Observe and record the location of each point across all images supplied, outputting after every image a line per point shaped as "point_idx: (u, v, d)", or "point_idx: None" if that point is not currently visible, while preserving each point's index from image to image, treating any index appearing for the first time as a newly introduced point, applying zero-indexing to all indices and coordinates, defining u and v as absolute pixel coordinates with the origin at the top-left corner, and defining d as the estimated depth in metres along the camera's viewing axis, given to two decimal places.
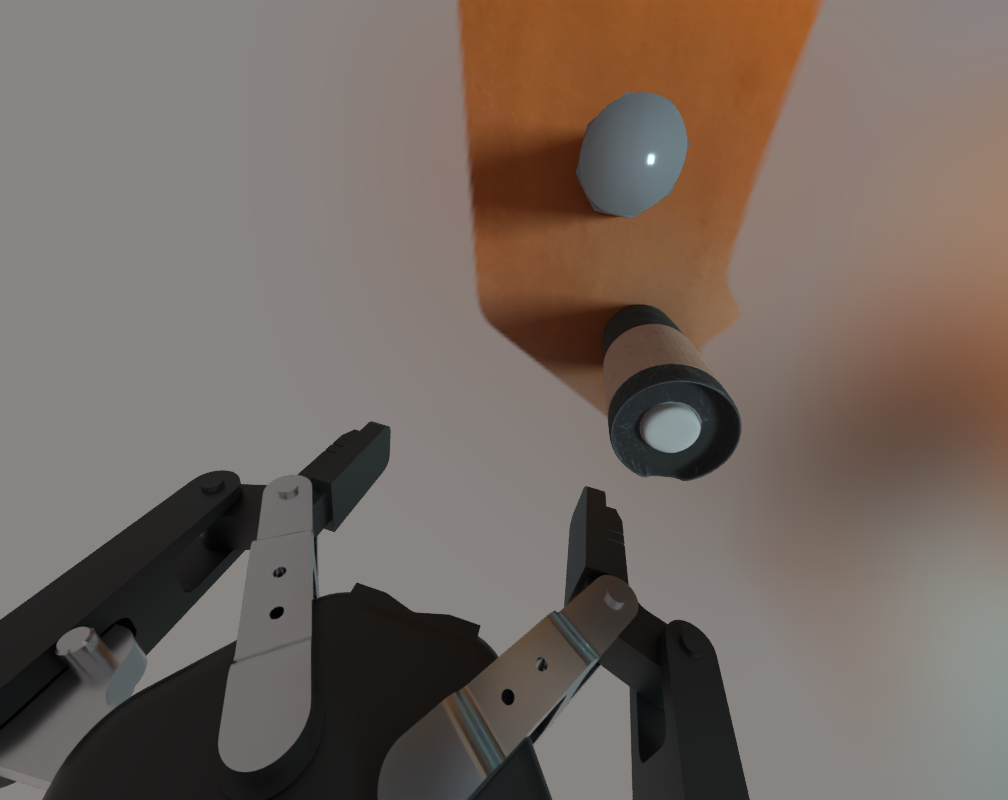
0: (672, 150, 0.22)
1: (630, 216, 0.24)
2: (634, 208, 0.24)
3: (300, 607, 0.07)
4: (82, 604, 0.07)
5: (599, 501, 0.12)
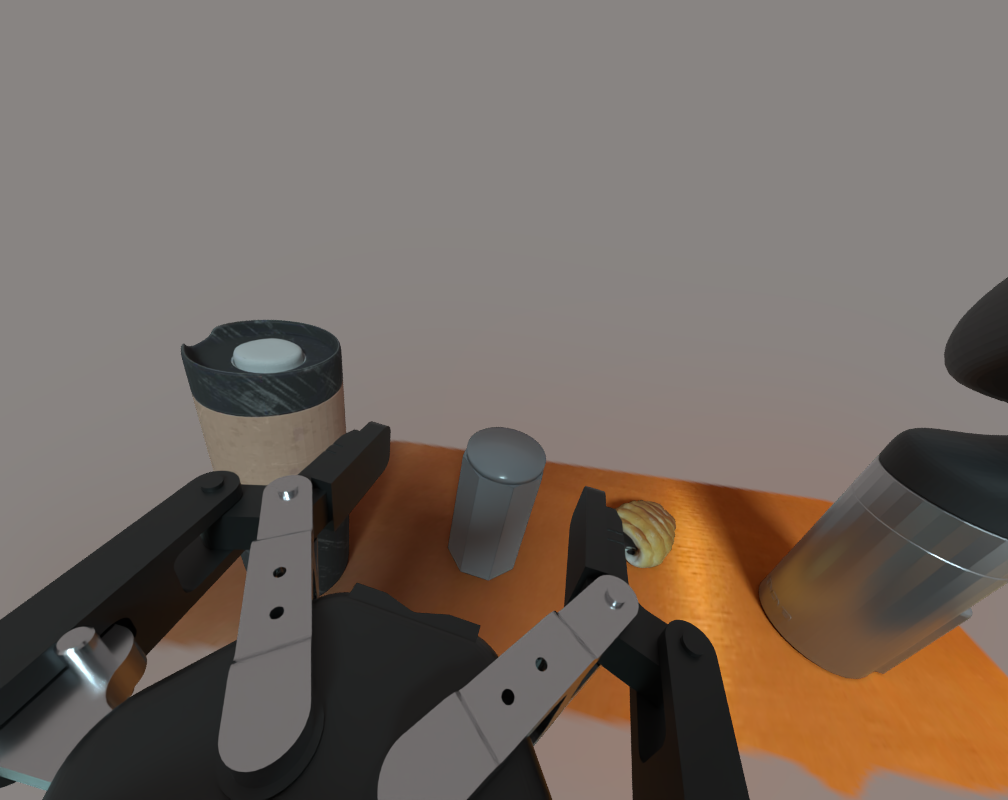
0: (510, 471, 0.27)
1: (464, 454, 0.28)
2: (471, 450, 0.28)
3: (300, 607, 0.07)
4: (82, 604, 0.07)
5: (599, 501, 0.12)
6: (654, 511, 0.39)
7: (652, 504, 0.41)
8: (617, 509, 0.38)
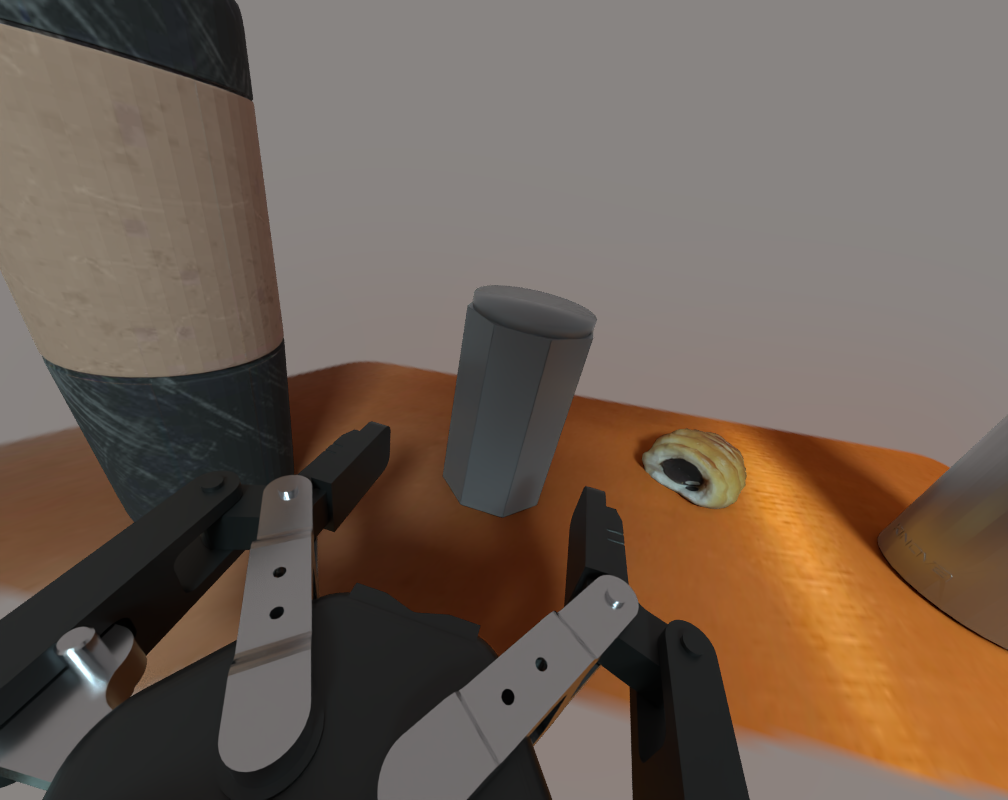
0: (545, 318, 0.16)
1: (469, 305, 0.18)
2: (480, 296, 0.18)
3: (300, 607, 0.07)
4: (82, 604, 0.07)
5: (599, 501, 0.12)
6: (715, 438, 0.29)
7: (709, 433, 0.31)
8: (668, 434, 0.28)
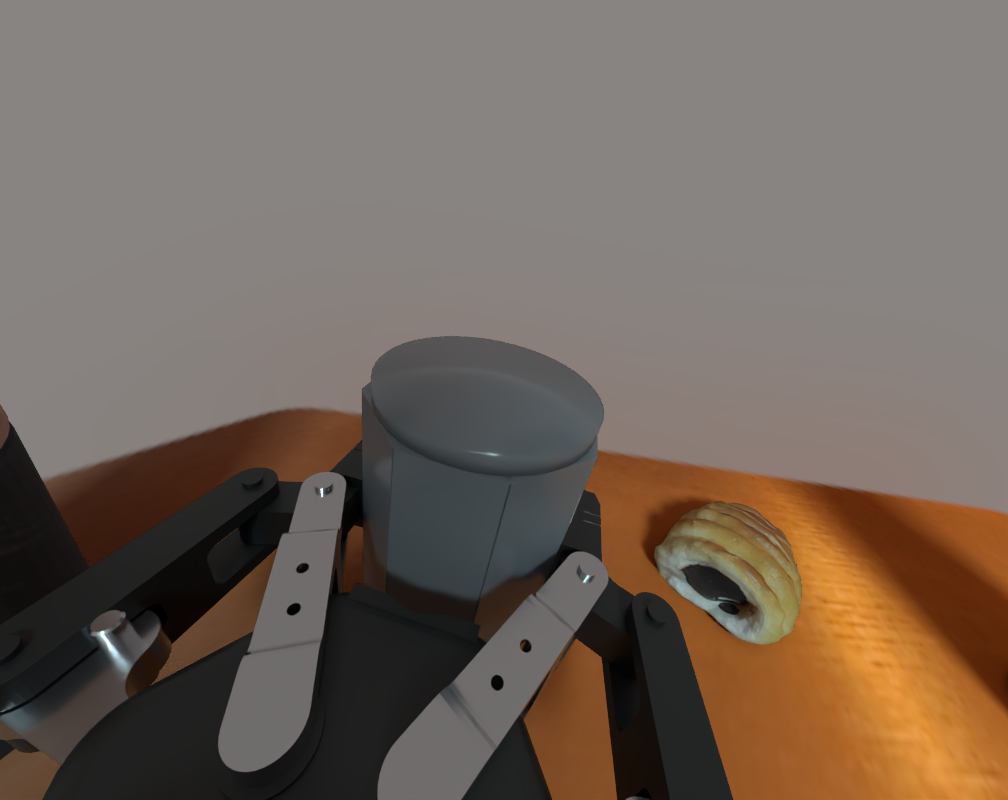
0: (500, 431, 0.08)
1: (367, 387, 0.10)
2: (384, 373, 0.09)
3: (316, 606, 0.07)
4: (120, 587, 0.07)
5: None
6: (754, 521, 0.21)
7: (742, 508, 0.23)
8: (691, 522, 0.20)
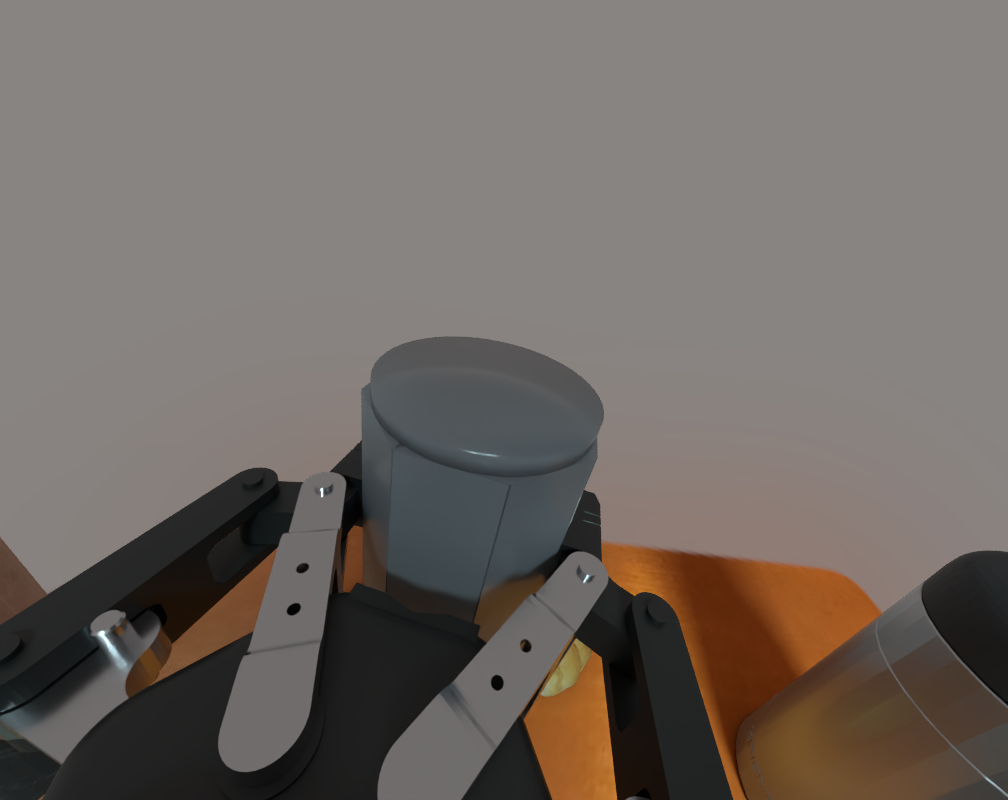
0: (500, 432, 0.08)
1: (367, 387, 0.10)
2: (383, 373, 0.09)
3: (316, 606, 0.07)
4: (120, 587, 0.07)
5: None
6: None
7: None
8: None
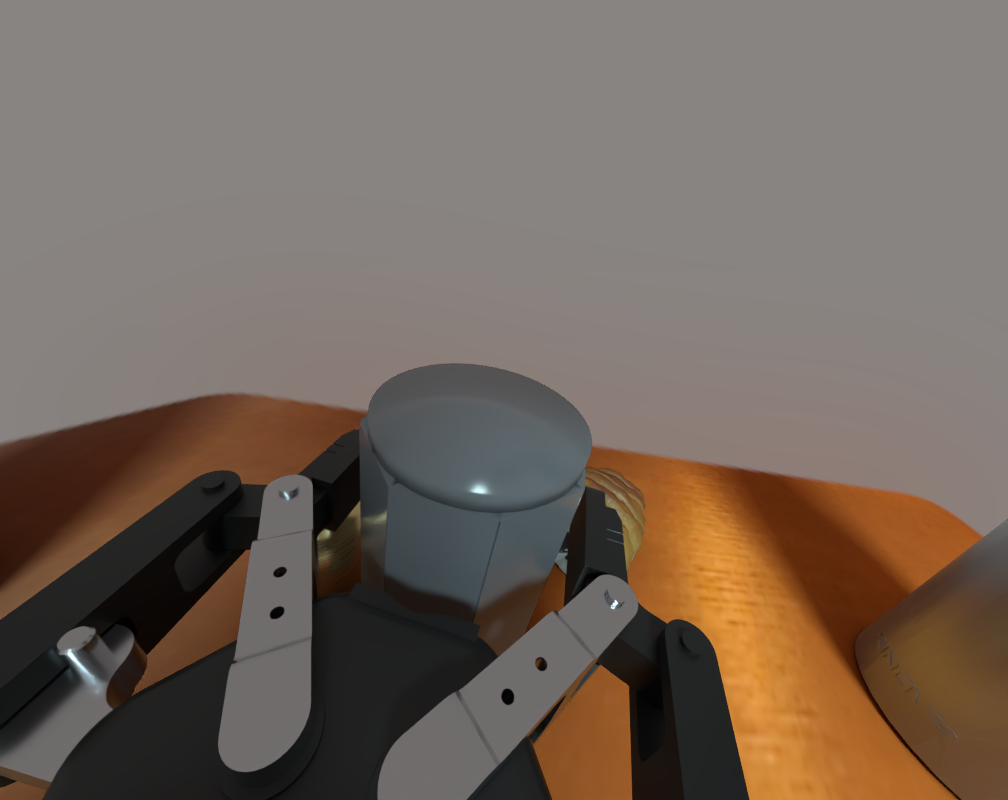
0: (490, 468, 0.08)
1: (364, 420, 0.10)
2: (380, 407, 0.10)
3: (300, 607, 0.07)
4: (83, 604, 0.07)
5: (599, 501, 0.12)
6: (609, 482, 0.23)
7: (606, 472, 0.25)
8: None
